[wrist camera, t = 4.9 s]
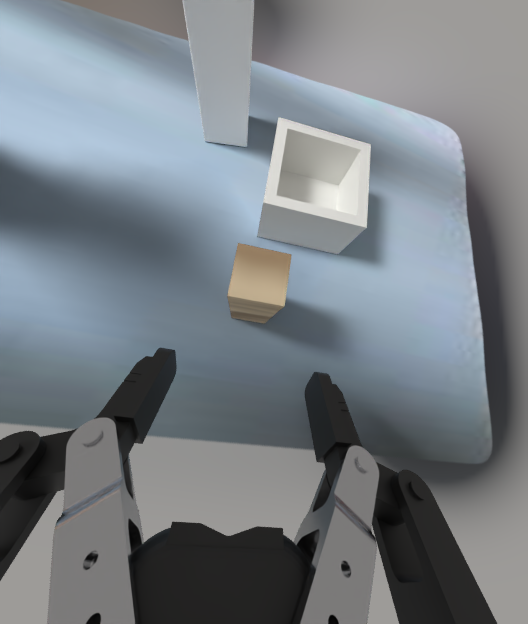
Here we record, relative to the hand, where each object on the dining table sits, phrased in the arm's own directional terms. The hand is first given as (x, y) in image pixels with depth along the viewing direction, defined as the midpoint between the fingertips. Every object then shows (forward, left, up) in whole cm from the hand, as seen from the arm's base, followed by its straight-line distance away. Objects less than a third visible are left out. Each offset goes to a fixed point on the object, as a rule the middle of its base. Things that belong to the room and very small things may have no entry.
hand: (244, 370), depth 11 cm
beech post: (-5, +4, -11) cm, 13 cm away
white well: (-14, +17, -11) cm, 25 cm away
